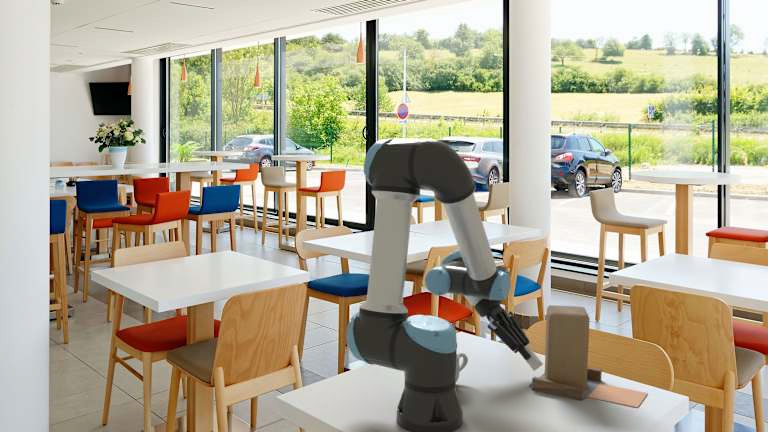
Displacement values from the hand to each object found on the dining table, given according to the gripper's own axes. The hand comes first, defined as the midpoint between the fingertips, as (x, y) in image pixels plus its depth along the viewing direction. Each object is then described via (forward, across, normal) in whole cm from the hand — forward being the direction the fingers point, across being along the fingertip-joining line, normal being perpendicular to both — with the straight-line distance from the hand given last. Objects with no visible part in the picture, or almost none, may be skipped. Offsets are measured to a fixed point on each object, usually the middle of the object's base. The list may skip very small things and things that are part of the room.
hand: (538, 367), depth 179 cm
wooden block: (+7, 0, -3) cm, 8 cm away
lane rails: (+8, 0, -4) cm, 9 cm away
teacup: (-11, -18, +16) cm, 26 cm away
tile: (+17, 0, -13) cm, 21 cm away
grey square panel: (+8, 0, -3) cm, 8 cm away
